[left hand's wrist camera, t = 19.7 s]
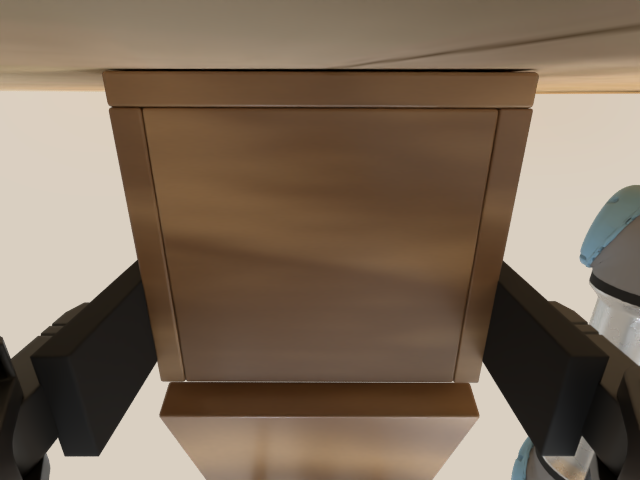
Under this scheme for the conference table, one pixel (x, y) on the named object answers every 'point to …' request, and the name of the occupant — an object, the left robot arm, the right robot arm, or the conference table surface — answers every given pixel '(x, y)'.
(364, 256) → the chest
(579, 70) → the conference table surface
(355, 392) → the lid
